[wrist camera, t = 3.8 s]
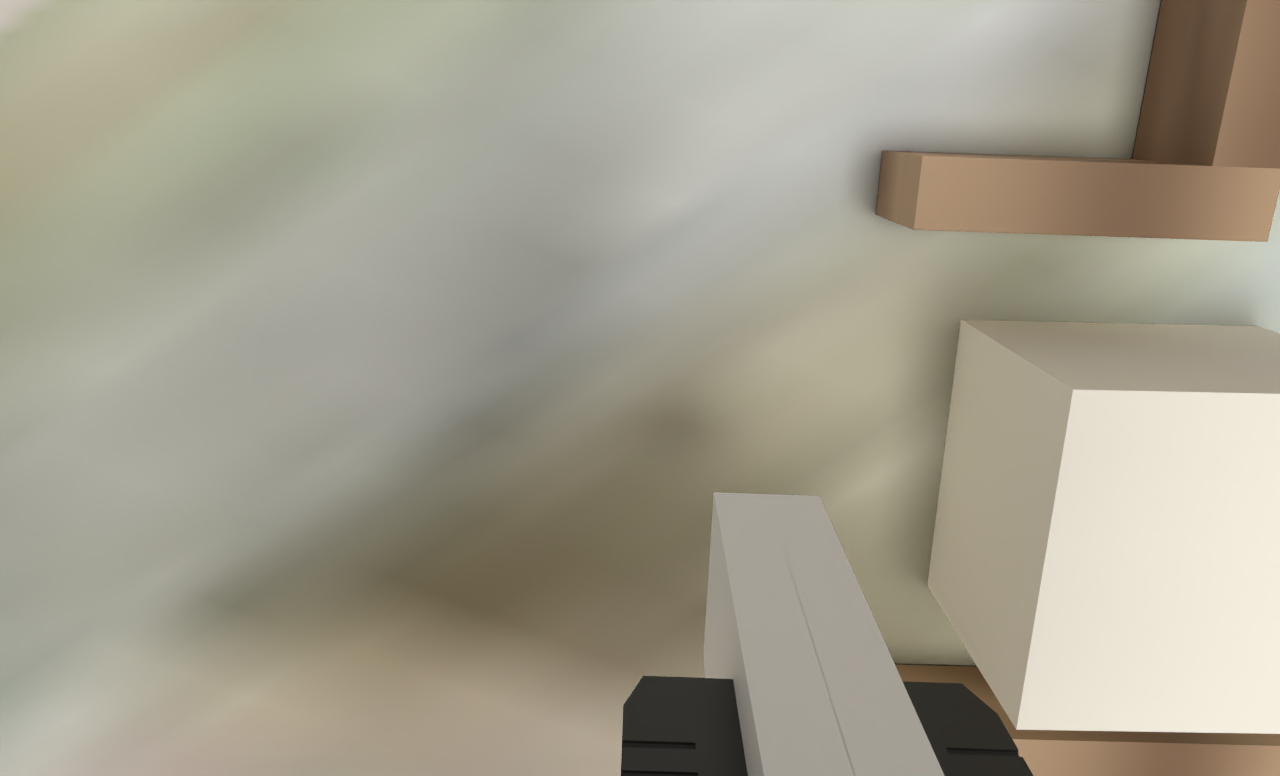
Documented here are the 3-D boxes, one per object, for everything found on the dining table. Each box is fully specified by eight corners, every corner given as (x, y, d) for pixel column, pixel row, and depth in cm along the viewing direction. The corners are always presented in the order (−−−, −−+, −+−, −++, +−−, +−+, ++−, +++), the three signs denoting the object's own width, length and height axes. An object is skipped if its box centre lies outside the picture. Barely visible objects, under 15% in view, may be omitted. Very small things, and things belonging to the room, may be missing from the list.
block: (925, 583, 20) (1016, 729, 15) (958, 318, 18) (1073, 390, 14) (1193, 587, 20) (1367, 735, 15) (1252, 324, 18) (1469, 397, 14)
